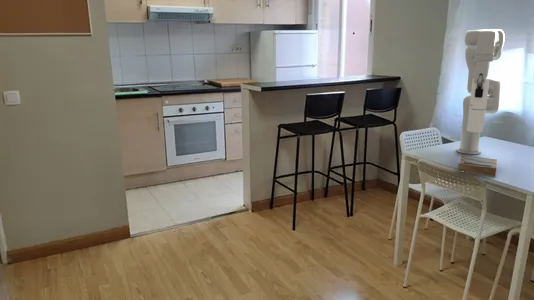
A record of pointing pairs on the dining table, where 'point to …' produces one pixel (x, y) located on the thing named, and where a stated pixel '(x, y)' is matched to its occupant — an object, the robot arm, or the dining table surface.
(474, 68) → the robot arm
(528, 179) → the dining table surface
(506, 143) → the dining table surface
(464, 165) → the walnut base
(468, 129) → the cylindrical container
